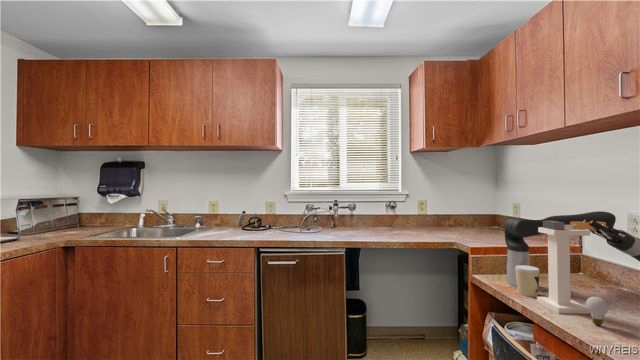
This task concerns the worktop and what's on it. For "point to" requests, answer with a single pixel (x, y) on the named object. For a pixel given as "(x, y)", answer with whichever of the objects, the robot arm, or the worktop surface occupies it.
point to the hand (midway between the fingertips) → (587, 221)
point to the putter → (573, 225)
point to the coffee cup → (527, 280)
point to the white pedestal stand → (561, 271)
